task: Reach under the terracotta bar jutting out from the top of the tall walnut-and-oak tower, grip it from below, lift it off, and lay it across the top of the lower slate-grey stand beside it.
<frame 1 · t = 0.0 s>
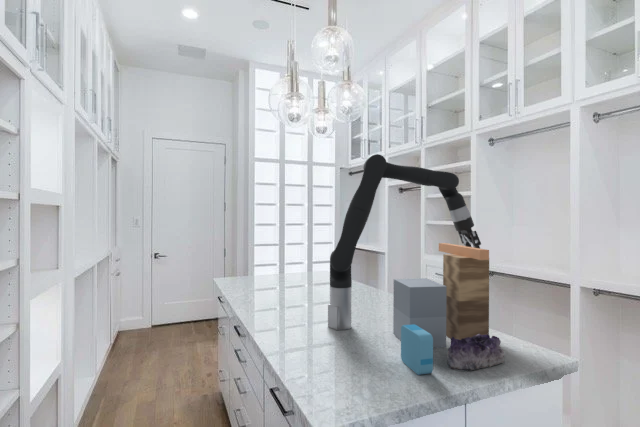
hand: (475, 254, 148), 31 cm above the counter, fingers open, 8 cm apart
bar: (461, 255, 140), point 32 cm above the counter, touching tall tower
low stand: (418, 340, 134), on the counter
geode: (474, 364, 113), on the counter
tall tower: (465, 338, 137), on the counter
blue flat block: (416, 368, 110), on the counter
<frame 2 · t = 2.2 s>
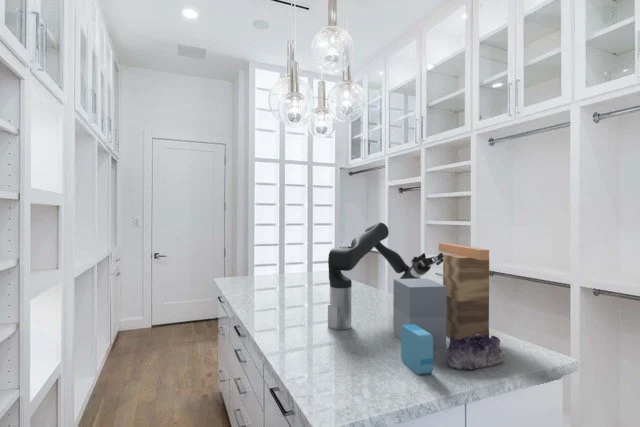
hand: (433, 254, 162), 29 cm above the counter, fingers open, 8 cm apart
nothing on the counter moved.
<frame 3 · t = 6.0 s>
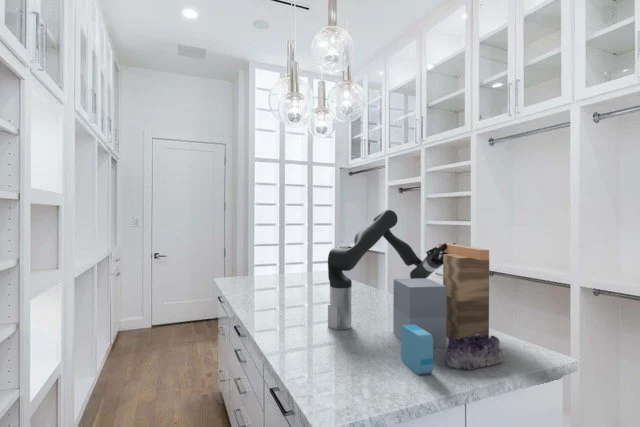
hand: (450, 245, 148), 35 cm above the counter, fingers closed on bar, 3 cm apart
bar: (461, 255, 140), point 32 cm above the counter, touching gripper, tall tower
everything else where it was.
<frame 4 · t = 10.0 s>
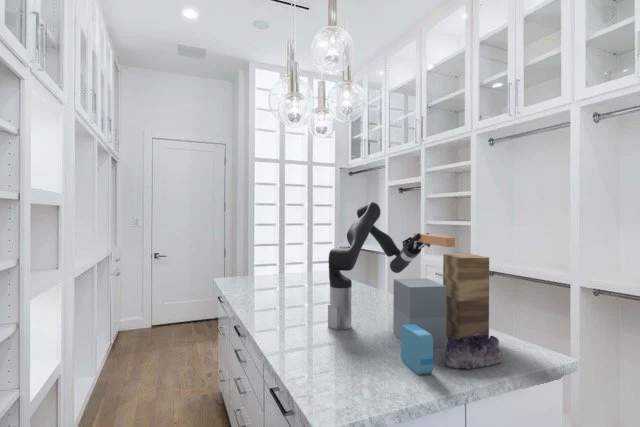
hand: (424, 235, 156), 39 cm above the counter, fingers closed on bar, 3 cm apart
bar: (432, 243, 148), point 36 cm above the counter, touching gripper
everything else where it was.
when the fingers open (26 cm above the counter, at t = 14.0 s): bar drops 1 cm, resting on low stand.
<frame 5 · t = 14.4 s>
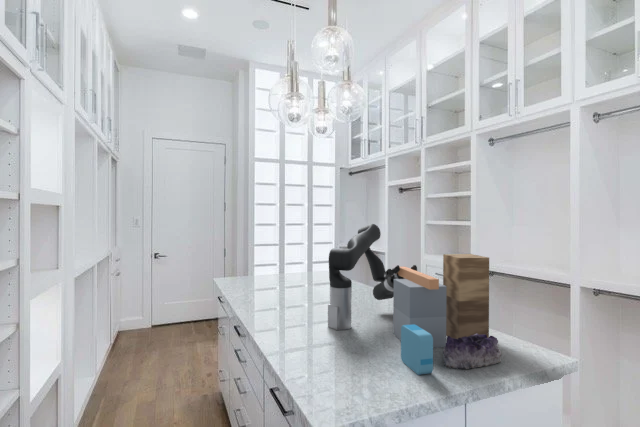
hand: (407, 267, 145), 26 cm above the counter, fingers open, 6 cm apart
bar: (415, 281, 137), point 22 cm above the counter, touching low stand
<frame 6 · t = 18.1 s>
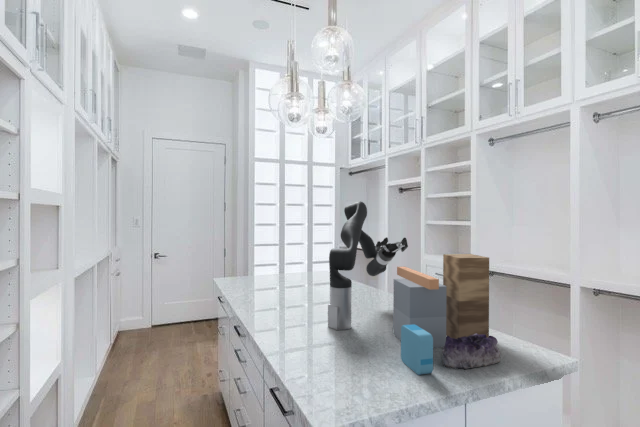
hand: (396, 239, 157), 37 cm above the counter, fingers open, 8 cm apart
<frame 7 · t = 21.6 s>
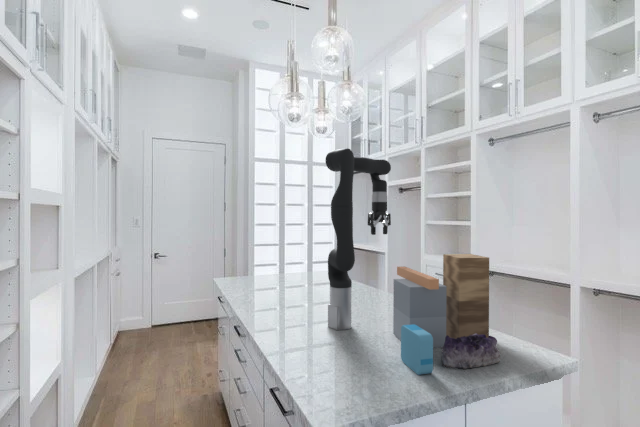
hand: (379, 234, 172), 38 cm above the counter, fingers open, 8 cm apart
at the end: bar inside the target area on the low stand (0.1 cm from its centre), point 22.0 cm above the low stand's base; bar touching low stand; the gripper is holding nothing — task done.
